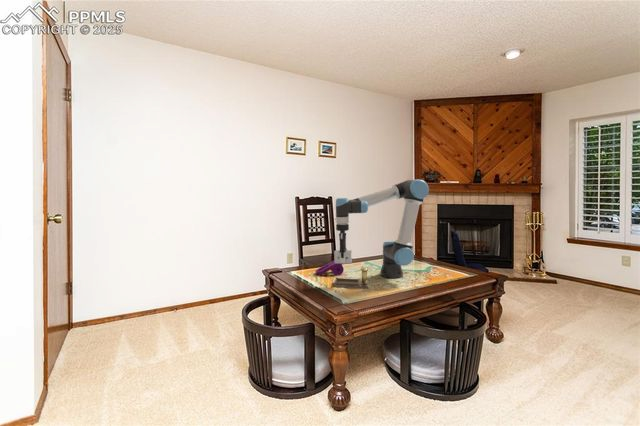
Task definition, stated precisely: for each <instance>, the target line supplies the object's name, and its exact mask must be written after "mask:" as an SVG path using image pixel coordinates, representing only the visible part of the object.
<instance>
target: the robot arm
mask: <svg viewBox="0 0 640 426" xmlns="http://www.w3.org/2000/svg"><path fill="white" fill-rule="evenodd" d="M429 187H430V186H429V185H428V183H427V182H426V181H424V180H423V179H418V178H417V179H407V180H405V181H402V182H400V183H397V184H393V185H392V186H391V187H389V188H386V189H383V190H380V191H376V192H373V193H370V194H367V195H363V196H360V197H357V198H354V199H349V198H347V197H337V198H336V199H335V218H334V220H336V221H335V222H336V227H335V229H336V231H338V232H339V231H340V232H339V233H338V237H339V250H340V251H339V252H340V263H345V251H344V250H348V249H347V243H346V242H347V241H346V240H347V233H346V231H349V228H350V226H349V222H350V220H349V216H350V215H349V214H351V215H352V214H365V213H368V211H369V207H371V206H375V205H378V204H379V205H380V204H381V203H385V202H388V201H391V200H394V199H395V200H399V199H400V200H401V199H403V201H404V202H405V203H404V209H403V212H402V218H401V221H400V226H399V230H398V234H397V235H398V236H397V238H396V240H393V241H392V240H390V241H389V240H388V241H384V242H383V243H382V265H381V267H380V271H379V274H380V275H379V276H381V277H383V278H388V279H399V278H402V277H404V272H403V271H404V270H403V268H402V266H403V267H405V266H409V265H410V264H412V262H413V260H414V259H415V253H414V251H413V246H414V244H413V243H412V239H413V236H414V231H415V226H416V223H417V218H418V214H419V209H420V205H422V204H423V203H424V199H425V198H426V197H427V196H428V195H429V192H430V188H429Z"/></svg>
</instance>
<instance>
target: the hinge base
mask: <svg viewBox="0 0 640 426" xmlns="http://www.w3.org/2000/svg"><path fill="white" fill-rule="evenodd" d="M360 271H361V278H338V277H336V278H335V279H334V282H333V287H334V288H346V287H351V288H352V289H367V290H368V289H369V280H368V271H369V268H367V267H361V268H360ZM351 288H350V289H351Z"/></svg>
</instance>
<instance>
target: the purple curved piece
mask: <svg viewBox="0 0 640 426" xmlns="http://www.w3.org/2000/svg"><path fill="white" fill-rule="evenodd" d="M329 271H331V272H332V274H333V275H335V276H342V274H343V273H344V271H345V268H344V266H343V264H341V263H334V260H332V261H330V262H328V263H326V264H324V265H321V267H318V268H317V269H316V270H315V273H316V275H317V276H321V275H324V274H326V273H327V272H329Z"/></svg>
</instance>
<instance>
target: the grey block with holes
mask: <svg viewBox="0 0 640 426" xmlns="http://www.w3.org/2000/svg"><path fill="white" fill-rule="evenodd" d="M339 251H340V249H337V250H336V249H335V250H334V251H333V256H334V257H333V259H334V260H333V261H334V263H340V252H339ZM344 251H345V263H341V264H342V265H343V264H344V265H345V264H347V265H351V264H352V259H353V258H352V256H353V253H352V252H353V251H352V250H351V249H350V250H348V249H347V250H344Z"/></svg>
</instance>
